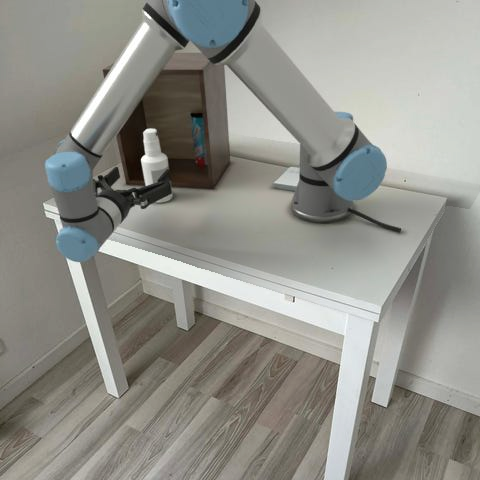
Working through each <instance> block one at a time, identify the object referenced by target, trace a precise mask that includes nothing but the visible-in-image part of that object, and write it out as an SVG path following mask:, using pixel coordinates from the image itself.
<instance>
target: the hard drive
mask: <svg viewBox="0 0 480 480" xmlns="http://www.w3.org/2000/svg"><path fill="white" fill-rule="evenodd" d="M299 174H300V167H299V166H298V167H297V166H289V167H288V168H287V169H286V170H285V171H284V172H282V174H281V175H280V176H278V178H277V179H276V180H274V182H273V183H272V185H273V186H272V188H273V189H276V190H284V191H288V192H289V191H290V192H295V190H296V187H297V185H298V182H299Z"/></svg>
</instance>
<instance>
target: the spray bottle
mask: <svg viewBox="0 0 480 480" xmlns="http://www.w3.org/2000/svg"><path fill="white" fill-rule="evenodd" d="M143 135H144V140H143V141H144V147H145V154H146V155H144V156H143V157H142V158H141V163H142V168H143V174H144V179H145V185H146V186H148V185H151V184H154V183H157V182H158V181H157V180H158V179H159V178H160V176H161V175H162V174H163V173H164V172H165V171H166V169H169V165H168V158H167V156H166V155H165V154H163V153H161V148H160V144H159V138H158V136H157V130H156V129H146V130H145V131H144V132H143ZM170 183H171V181H170ZM171 189H172V190H173V187H172V186H171ZM173 195H174V194H173V192H172V194H170V195H168V196H166V197H164V198H162V199H160V200H158V201H156V202H154V203H155V204H161V203H165V202H168V201H170V200H171V199H173ZM154 203H153V204H154Z"/></svg>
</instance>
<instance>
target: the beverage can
mask: <svg viewBox="0 0 480 480" xmlns="http://www.w3.org/2000/svg"><path fill="white" fill-rule="evenodd" d="M190 115H191V124H192V134H193V143H194V152H195V161H196V163H197V164H200V165H207V155H206V145H205V134H204V123H203V113H191V114H190Z"/></svg>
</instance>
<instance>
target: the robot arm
mask: <svg viewBox="0 0 480 480" xmlns="http://www.w3.org/2000/svg"><path fill="white" fill-rule="evenodd" d="M262 14H263V10H262V7H261V6H260V5H259V4H258V2H257V1H256V0H147V1H146V3H145V4H144V6H143V8H142V9H141V16H142V20H141V22H140V23H139V25H138V27H137V28H136V30H135V31H134V33H133V34H132V35H131V37H130V38H129V40H128V42H127V43H126V45H125V46H124V48H123V49H122V51H121V53H120V54H119V56H118V57H117V59H116V60H115V62H113V64H114V65H113V66H112V68H111V70H110V71H109V73H108V74H107V76H106V77H105V79H103V80H102V82H101V83H100V85H99V86H98V88H97V89H96V90H95V93H94V94H93V96H92V97H91V98H90V100H89V101H88V103H87V105H86V106H85V108H84V109H83V111H82V113H81V114H80V115H79V117H78V119H77V120H76V122H75V123H74V125H73V126H72V128H71V129H70V131H69V133H68V134H67V136H66V137H65V138H64V139H63V140H61V141H60V142H59V143H58V145H57V146H56V148H55V150H54V154H52V155H50V157H49V158H47V159H46V160H45V163H44V168H45V172H46V176H47V178H46V180H47V183H48V184H49V186H50V189H51V193H52V196H53V199H54V202H55V206H56V208H57V211H58V215H59V220H60V223H61V225H62V228H60V230H59V232H58V233H57V235H56V238H55V244H56V248H57V250H58V251H59V252H60V254H61V255H62V256H63V257H64V258H66V259H67V260H69V261H72V262H75V263H85V262H87V261H88V260H90V259H91V258H93V256H94V255H96V254H97V253H98V252H99V251H100V249H101V248H102V247H103V245H104V244H105V243H106V241H107V240H108V239H109V238H110V237H111V235H112V234H113V233H114V232H115V231H116V230H117V228H118V227H120V225H122V223H123V222H124V221H125V219H127V217H128V215H129V213H130V210H131V209H132V208H134V207H135V206H140V209H141V210H146V209H147V208H148V207H149V206H150V205H153V204H154V202H156V201H158V200H160V199H162V198H164V197H166V196H168V195H170V194H172V193H173V188H172V189H171V183H170V181H171V175H170V169H166V171H165V172H164V173H163V174H162V175H161V176H160V178H159V179H158V180H157V181H158V182H157V183H154V184H151V185H148V186H142V187H138V188H137V187H131V188H129V189H114V188H112V186H113V185H114V184H115V183H116V182H117V181H118V180H119V179H120V178H121V174H120V170H119V166H114V168H111V170H110V171H109V172H108V173H107V174H105V175H104V176H103V174H99V175H97V180H96V179H95V178H94V176H93V175H94V169H95V167H96V166H97V165H98V163H99V162H100V160H101V159H102V157H103V156H104V154H105V153H106V152H107V150H108V149H109V147H110V145H111V144H112V142H113V141H114V140H115V139H116V135H117V134H118V133H119V131H120V130H121V128H122V127H123V125H124V124H125V122H126V121H127V120H128V118H129V117H130V115H131V114H132V112H133V111H134V110H135V108H136V107H137V105H138V104H139V102H140V101H141V100H142V98H143V97H144V95H145V94H146V92H147V91H148V90H149V88H150V87H151V85H152V84H153V82H154V81H155V80H156V78H157V77H158V75H159V74H160V72H161V71H162V69H163V68H164V67H165V65H166V64H167V62H168V61H169V59H170V58H171V57H172V55H173V54H174V53H176V52H177V51H181V50H185V48H186V47H187V45H188V44H189V42H191V43H192V44H193V45H194V47H196V48H197V49H198V51H200V53H203V54H204V55H205V56H206V57H207V59H208V60H209V61H210V62H211V63H212V64H213V65H224V66H227V68H228V69H229V70H230V71H231V72H232V73H233V74H234V75H235V76H236V77H237V78H238V79H239V80H240V81H241V83H243V85H244V86H245V87H246V88H247V89H248V90H249V91H250V92H251V93H252V94H253V95H254V97H256V99H258V101H259V102H260V103H261V104H262V105H263V106H264V107H265V108H266V109H267V111H269V112H270V113H271V114H272V115H273V117H274V118H275V119H276V120H277V121H278V122H279V123H280V124H281V125H282V126H283V127H284V128H285V129H286V130H287V132H288V133H290V135H291V136H292V137H293V138H294V139H295V140H296V141H297V142H298V144H299V168H300V174H299V182H298V185H297V187H296V190H295V191H294V193H293V196H292V199H291V201H290V210H291V212H292V214H293V215H294V216H295V217H296V218H298V219H300V220H303V221H306V222H310V223H318V224H328V223H334V222H335V223H336V222H340V221H342V220H344V219H346V218H348V217H349V216H350V215H351V214H353V215H356V216H358V217H360V218H361V219H362V218H363V219H364V220H366V221H369V222H370V223H372V224H374V225H376V226H379V227H382V228H385V229H387V230H391V231H395V232H399V233H400V232H402V228H401V227H399V226H394V225H390V224H386V223H385V222H384V223H383V222H382V221H380V220H379V221H378V220H376V219H374V218H372V217H370V216H368V215H366V214H364V213H362V212H360V211H358V210H355V209H354V208H353V207H354V201H355V202H356V201H360V200H363V199H366V198H368V197H369V196H371V195H372V194H373V193H374V192H375V191H376V190H377V189H378V188H379V187H380V186H381V184H382V182H383V181H384V179H385V177H386V172H387V168H388V162H387V158H386V155H385V154H384V152H383V151H382V149H381V148H380V147H379V146H377V145H374V144H373V143H372V142H371V141H370V140H369V139H368V138H367V136H366V135H365V134H364V133H363V131H361V129H360V128H359V126H357V124H356V123H355V121H354V116H353V114H352V113H350V112H345V111H334V109H333V108H332V107H331V106H330V105H329V104H328V102H327V101H326V100H325V99H324V98H323V97H322V95H321V94H320V92H319V91H318V90H317V89H316V88H315V87H314V85H313V84H312V83H311V81H309V79H308V78H307V77H306V76H305V75H304V73H303V72H302V71H301V69H299V67H298V66H297V65H296V64H295V62H294V61H293V60H292V59H291V58H290V57H289V55H288V54H287V53H286V52H285V50H284V49H283V48H282V47H281V45H280V44H279V43H278V42H277V41H276V40H275V38H274V37H273V36H272V35H271V34H270V32H269V31H268V30H267V29H266V27H264V25H263V24H262V16H263V15H262ZM99 189H100V190H101V191H100V192H99Z"/></svg>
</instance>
